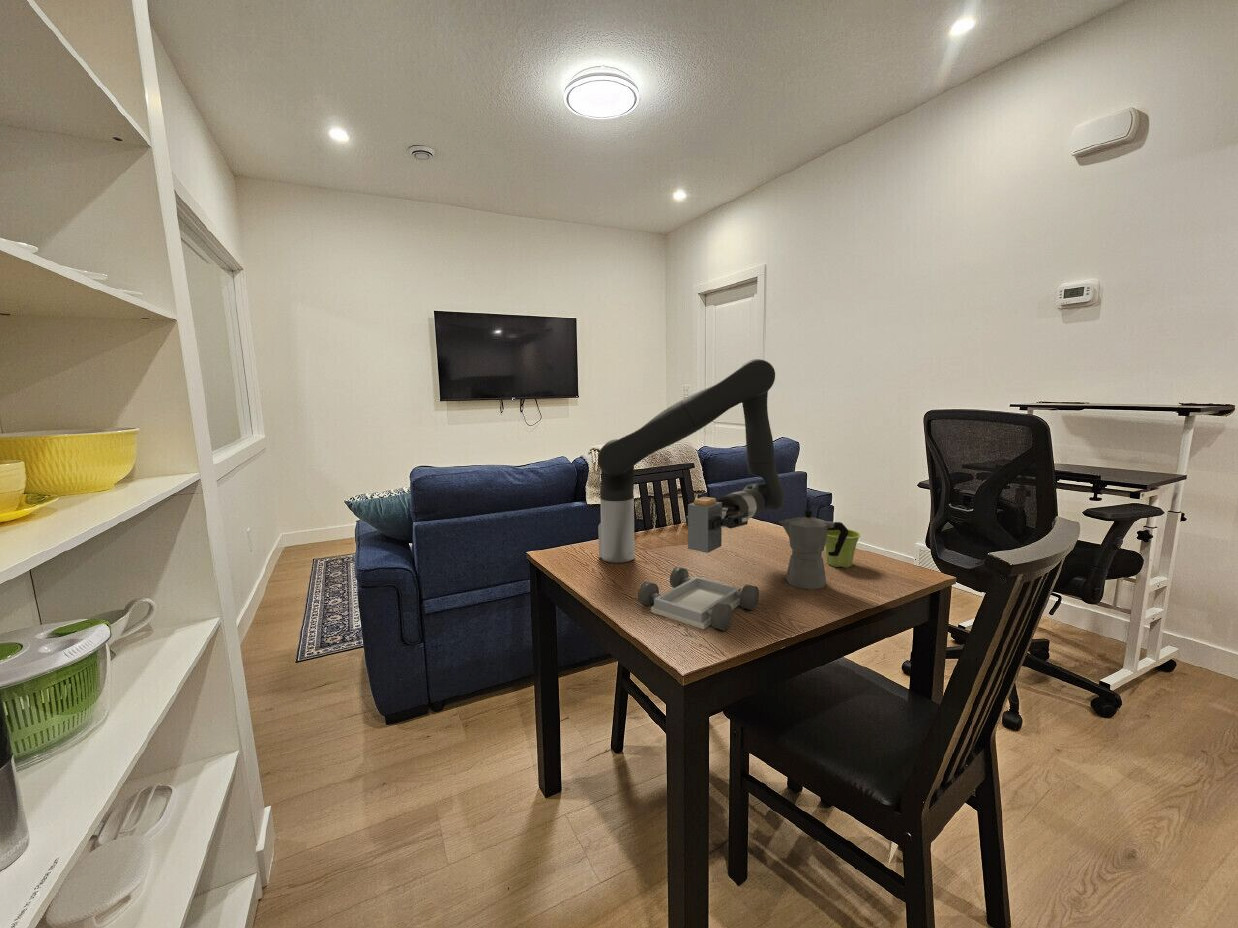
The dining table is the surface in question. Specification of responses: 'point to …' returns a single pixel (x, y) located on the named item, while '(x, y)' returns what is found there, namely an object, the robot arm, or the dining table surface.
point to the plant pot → (846, 550)
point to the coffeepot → (810, 549)
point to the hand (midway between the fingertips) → (698, 523)
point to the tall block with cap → (703, 525)
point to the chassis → (698, 600)
